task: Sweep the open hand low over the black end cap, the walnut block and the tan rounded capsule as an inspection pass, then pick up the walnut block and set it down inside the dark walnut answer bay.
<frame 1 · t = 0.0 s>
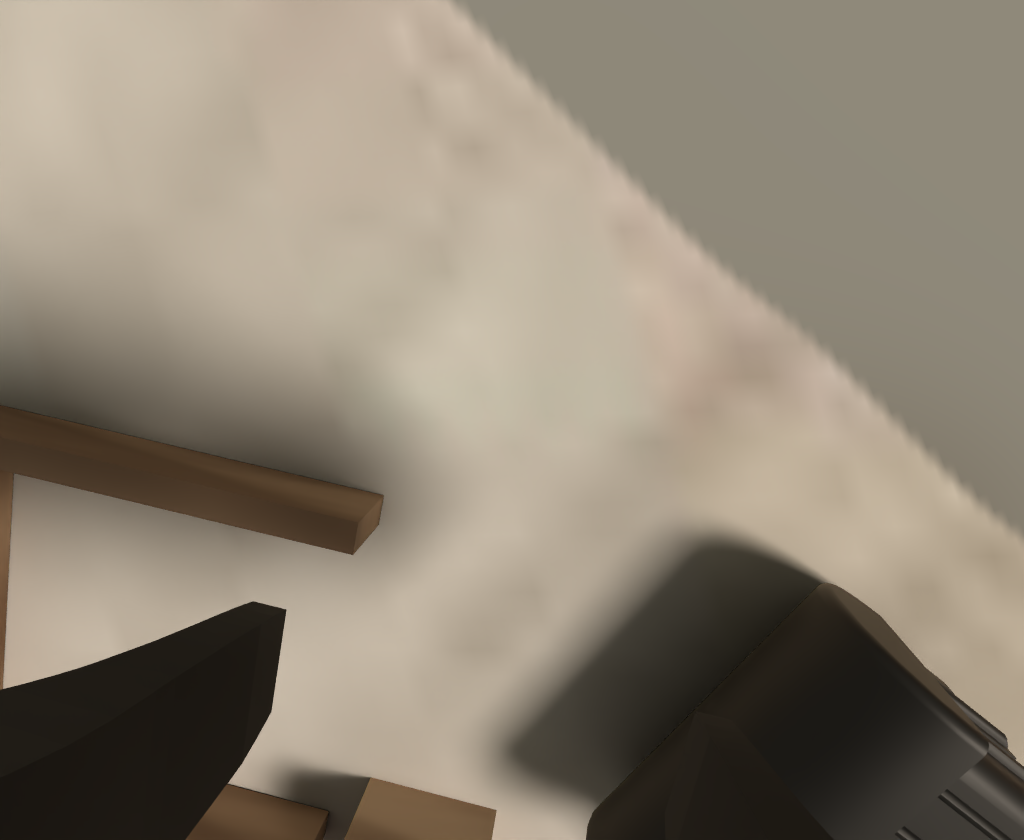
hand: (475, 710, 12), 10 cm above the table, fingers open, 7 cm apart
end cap: (765, 716, 22), on the table
answer bay: (170, 629, 24), on the table
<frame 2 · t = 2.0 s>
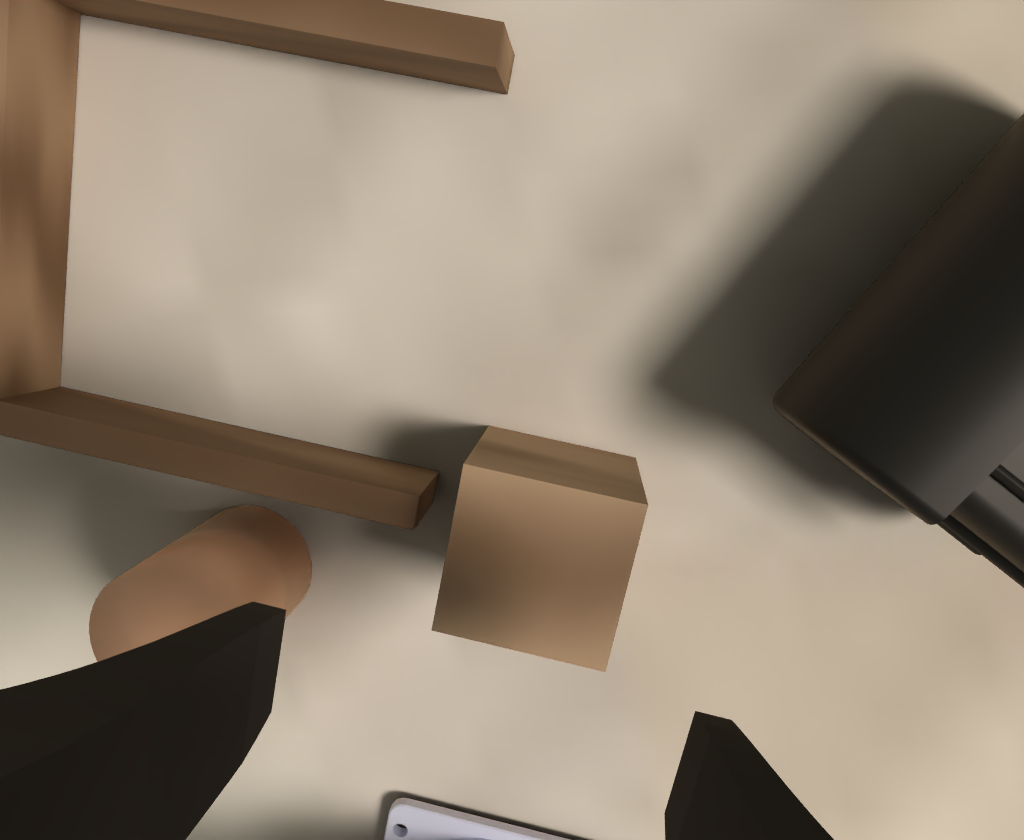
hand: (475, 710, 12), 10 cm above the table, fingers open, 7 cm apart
tan rounded capsule: (253, 563, 23), on the table
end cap: (958, 319, 19), on the table
answer bay: (258, 250, 21), on the table
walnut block: (546, 510, 21), on the table
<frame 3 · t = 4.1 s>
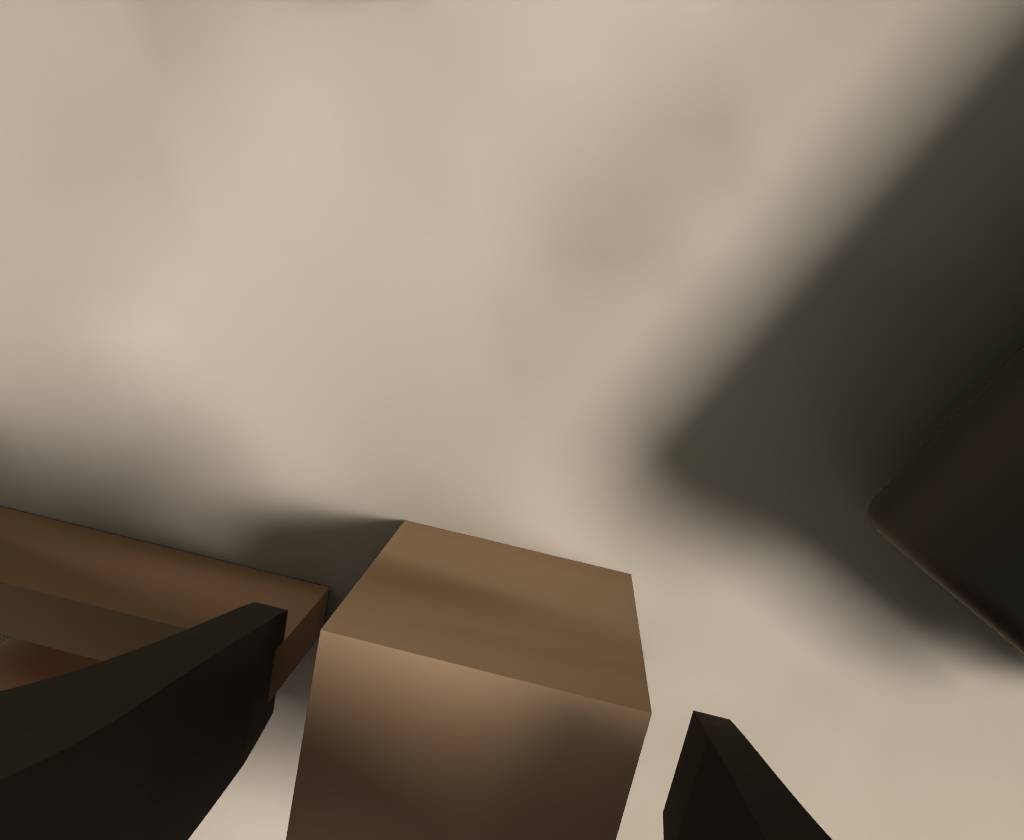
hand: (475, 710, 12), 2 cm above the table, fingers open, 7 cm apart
tan rounded capsule: (61, 712, 15), on the table
answer bay: (46, 246, 13), on the table
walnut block: (494, 647, 14), on the table
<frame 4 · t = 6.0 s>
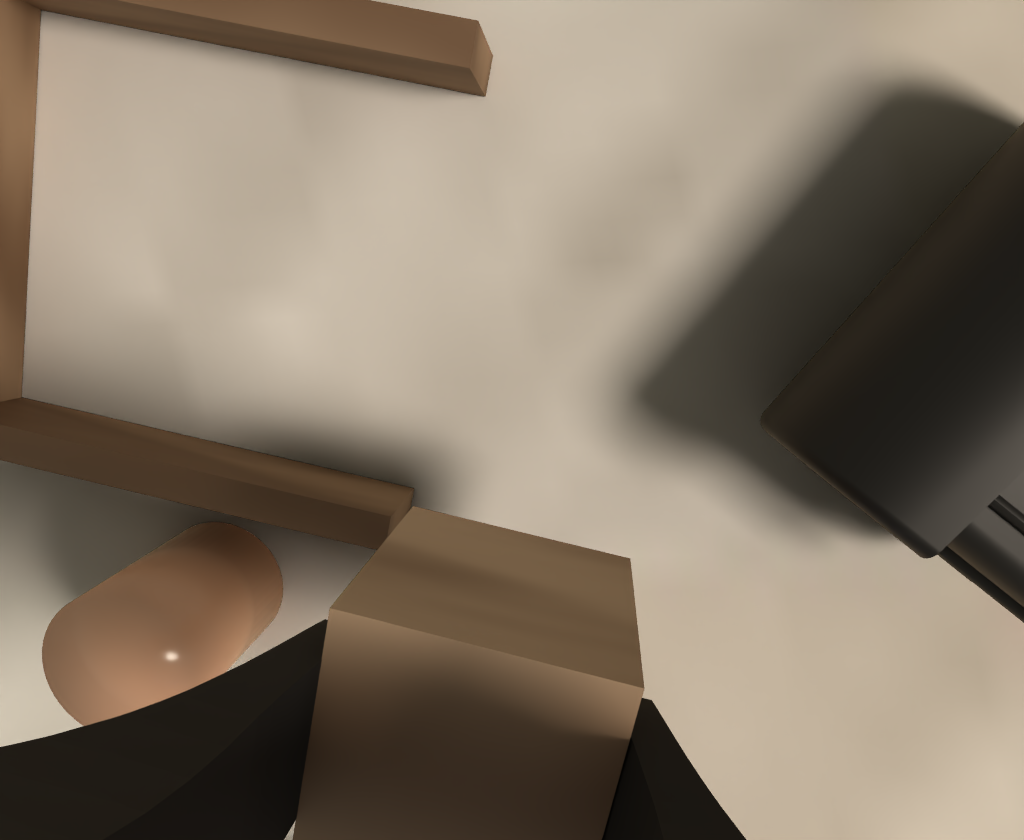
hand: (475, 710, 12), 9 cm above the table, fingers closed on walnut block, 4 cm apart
tan rounded capsule: (222, 582, 22), on the table
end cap: (955, 334, 18), on the table
answer bay: (226, 257, 20), on the table
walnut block: (498, 631, 15), point 6 cm above the table, touching gripper
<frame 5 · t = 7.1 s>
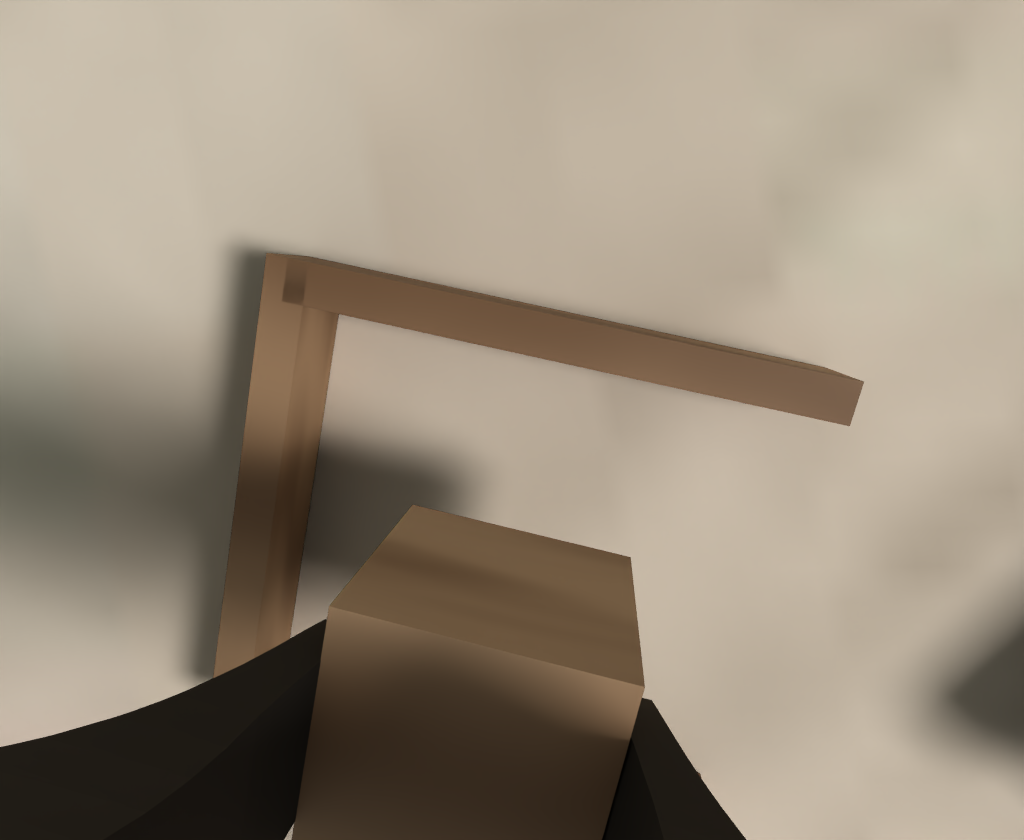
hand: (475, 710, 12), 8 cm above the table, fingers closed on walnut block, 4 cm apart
answer bay: (518, 545, 19), on the table
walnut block: (498, 629, 14), point 5 cm above the table, touching gripper
when the fingers open (3 cm above the table, at t = 8.3 s): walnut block stays where it is, on the table.
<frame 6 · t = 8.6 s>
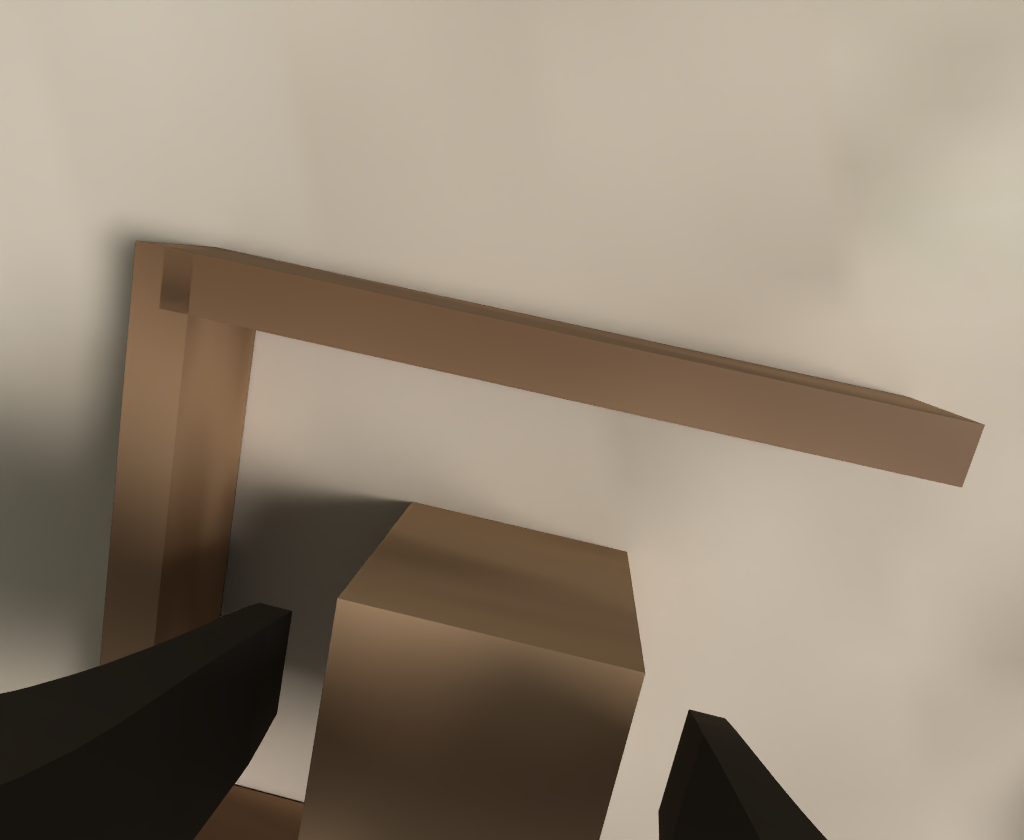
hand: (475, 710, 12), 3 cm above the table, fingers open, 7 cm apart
answer bay: (497, 627, 15), on the table
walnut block: (497, 623, 15), on the table
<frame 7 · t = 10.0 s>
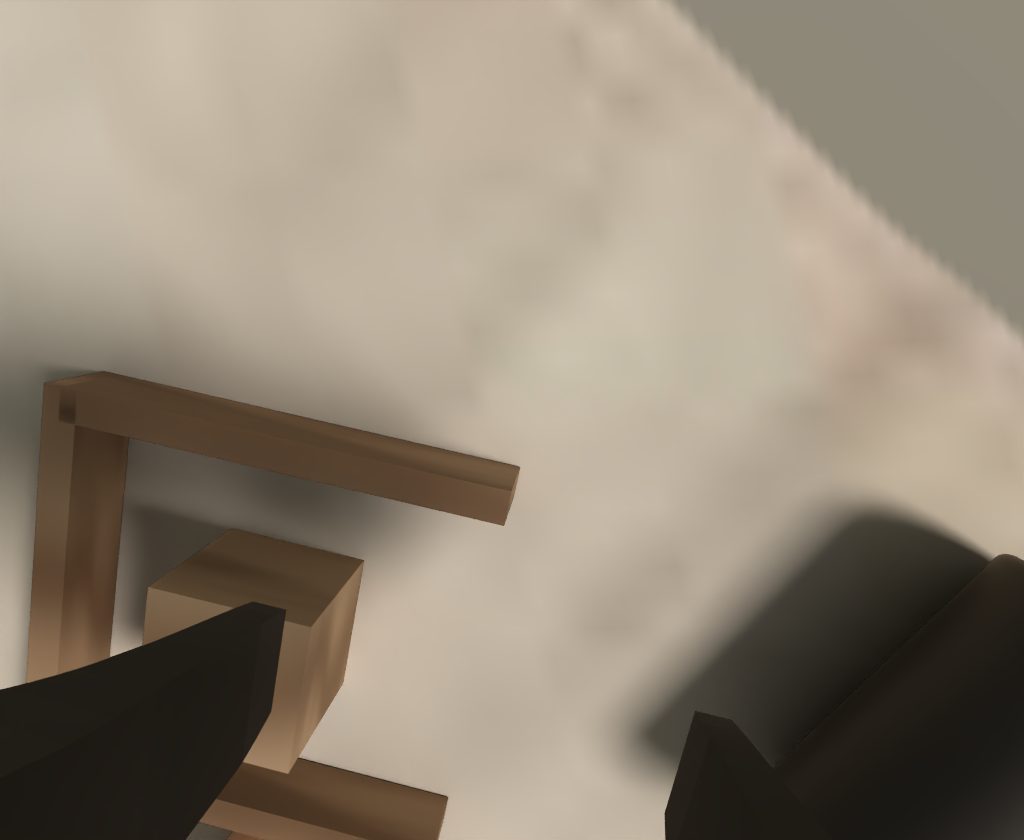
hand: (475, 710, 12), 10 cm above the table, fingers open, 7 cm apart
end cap: (914, 697, 22), on the table
answer bay: (288, 608, 23), on the table
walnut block: (289, 605, 23), on the table
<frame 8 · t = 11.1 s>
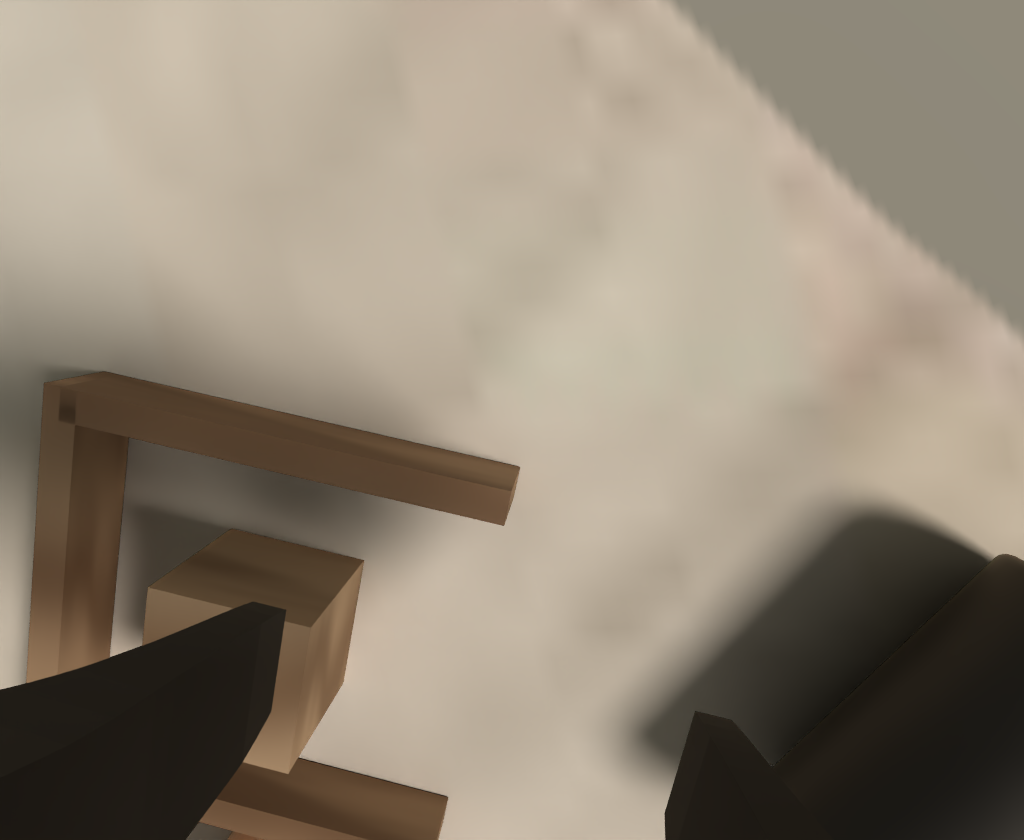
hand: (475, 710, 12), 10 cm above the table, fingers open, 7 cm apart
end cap: (914, 697, 22), on the table
answer bay: (288, 608, 23), on the table
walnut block: (289, 605, 23), on the table
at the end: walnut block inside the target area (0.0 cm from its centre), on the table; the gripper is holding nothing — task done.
